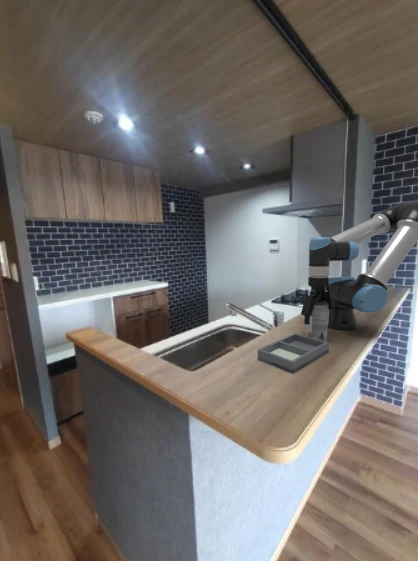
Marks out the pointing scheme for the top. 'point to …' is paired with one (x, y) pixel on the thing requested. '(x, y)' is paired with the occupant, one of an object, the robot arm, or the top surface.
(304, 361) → the compartment tray
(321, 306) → the coffee box
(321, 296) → the robot arm
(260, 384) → the top surface
